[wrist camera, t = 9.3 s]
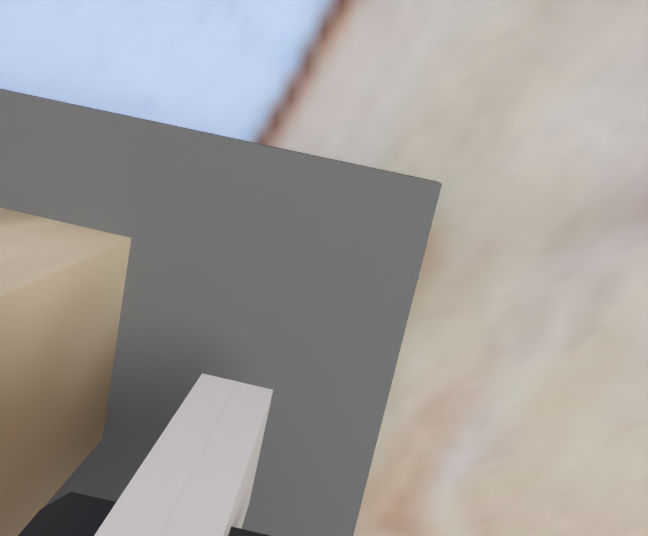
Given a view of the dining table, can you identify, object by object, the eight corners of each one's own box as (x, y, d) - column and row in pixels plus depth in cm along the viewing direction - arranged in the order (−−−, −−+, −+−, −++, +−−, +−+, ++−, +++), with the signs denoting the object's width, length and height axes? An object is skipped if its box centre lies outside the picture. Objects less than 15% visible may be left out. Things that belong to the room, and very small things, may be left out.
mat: (341, 566, 18) (341, 581, 17) (-284, 426, 18) (-306, 436, 17) (438, 181, 15) (442, 183, 14) (-304, 24, 15) (-330, 19, 15)
